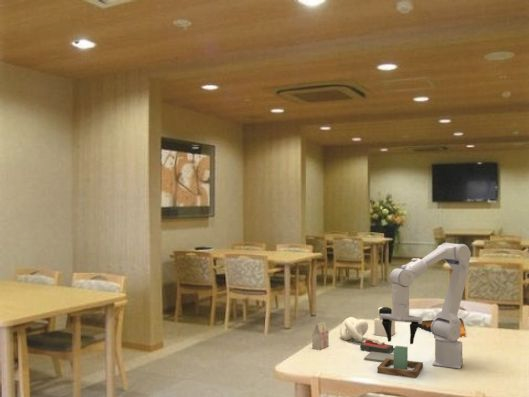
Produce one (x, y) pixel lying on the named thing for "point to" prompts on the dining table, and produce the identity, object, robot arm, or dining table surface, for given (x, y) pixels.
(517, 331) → the dining table surface
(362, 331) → the cream rounded sculpture
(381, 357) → the ceramic tile
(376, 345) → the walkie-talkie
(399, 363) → the green block
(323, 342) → the tea box
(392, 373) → the brown square frame
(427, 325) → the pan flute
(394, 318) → the robot arm
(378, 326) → the medicine bottle
